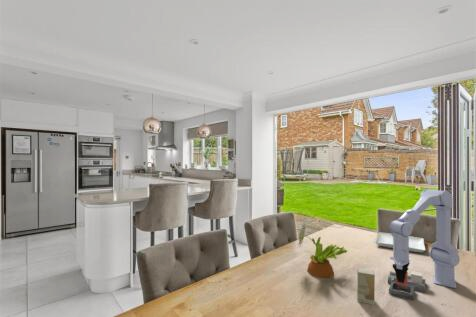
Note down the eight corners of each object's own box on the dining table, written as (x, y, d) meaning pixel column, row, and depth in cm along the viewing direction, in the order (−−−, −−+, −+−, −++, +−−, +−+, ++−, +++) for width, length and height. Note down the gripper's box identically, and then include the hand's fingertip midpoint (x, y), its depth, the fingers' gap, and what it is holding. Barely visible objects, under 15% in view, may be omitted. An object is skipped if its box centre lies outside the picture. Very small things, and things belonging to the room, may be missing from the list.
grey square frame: (391, 285, 114) (391, 281, 115) (414, 291, 109) (414, 286, 109) (388, 293, 108) (388, 289, 108) (412, 300, 103) (412, 295, 103)
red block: (397, 280, 111) (396, 269, 111) (407, 283, 109) (407, 271, 109) (395, 284, 108) (395, 272, 108) (407, 286, 106) (406, 275, 106)
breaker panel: (390, 275, 125) (390, 270, 125) (425, 283, 116) (425, 278, 116) (387, 283, 117) (387, 277, 117) (424, 292, 108) (424, 286, 108)
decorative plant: (303, 259, 145) (303, 216, 145) (349, 267, 135) (348, 220, 135) (292, 279, 121) (291, 228, 121) (346, 290, 111) (345, 234, 111)
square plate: (374, 247, 165) (374, 241, 165) (379, 236, 188) (378, 231, 188) (425, 255, 150) (425, 249, 150) (423, 243, 172) (423, 237, 172)
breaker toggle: (411, 279, 117) (411, 270, 117) (422, 281, 114) (422, 273, 114) (411, 282, 114) (411, 273, 114) (422, 285, 111) (421, 276, 111)
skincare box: (357, 301, 102) (357, 271, 102) (356, 296, 106) (356, 267, 106) (375, 305, 100) (375, 274, 100) (373, 299, 104) (373, 269, 104)
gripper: (392, 242, 117) (392, 271, 117) (387, 251, 105) (388, 283, 105) (410, 245, 112) (411, 275, 112) (408, 255, 101) (408, 289, 101)
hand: (401, 280), depth 109 cm, fingers closed on red block, 4 cm apart
